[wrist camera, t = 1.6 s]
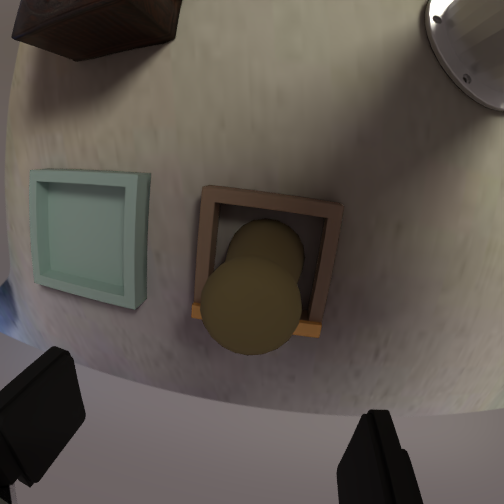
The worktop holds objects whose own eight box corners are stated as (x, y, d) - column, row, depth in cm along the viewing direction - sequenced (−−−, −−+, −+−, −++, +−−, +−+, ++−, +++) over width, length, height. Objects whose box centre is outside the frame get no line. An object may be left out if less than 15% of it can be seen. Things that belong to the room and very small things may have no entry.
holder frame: (340, 202, 23) (345, 207, 21) (317, 323, 26) (318, 338, 24) (209, 185, 24) (200, 187, 22) (199, 304, 27) (191, 317, 25)
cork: (289, 302, 26) (284, 387, 16) (219, 278, 26) (173, 349, 16) (315, 233, 24) (331, 284, 14) (240, 207, 25) (200, 240, 14)
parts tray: (151, 173, 25) (137, 174, 22) (146, 298, 28) (135, 309, 25) (46, 168, 26) (29, 170, 23) (48, 275, 29) (34, 282, 26)
